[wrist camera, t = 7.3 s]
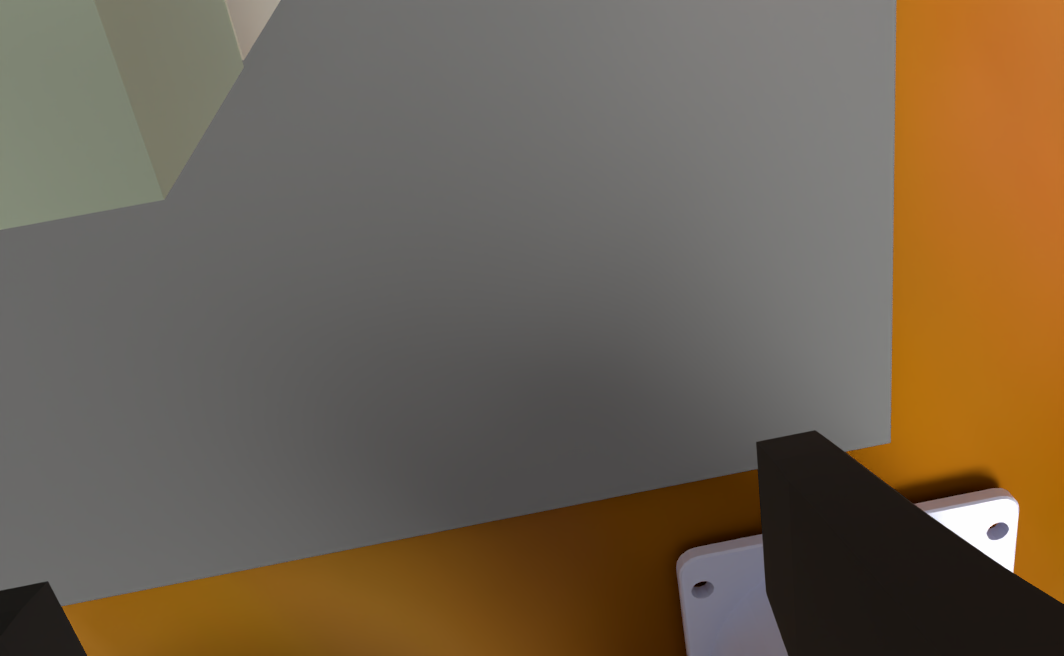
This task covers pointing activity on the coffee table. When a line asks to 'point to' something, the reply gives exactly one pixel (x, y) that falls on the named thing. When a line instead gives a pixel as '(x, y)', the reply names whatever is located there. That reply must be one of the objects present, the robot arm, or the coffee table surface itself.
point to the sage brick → (105, 100)
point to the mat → (456, 284)
